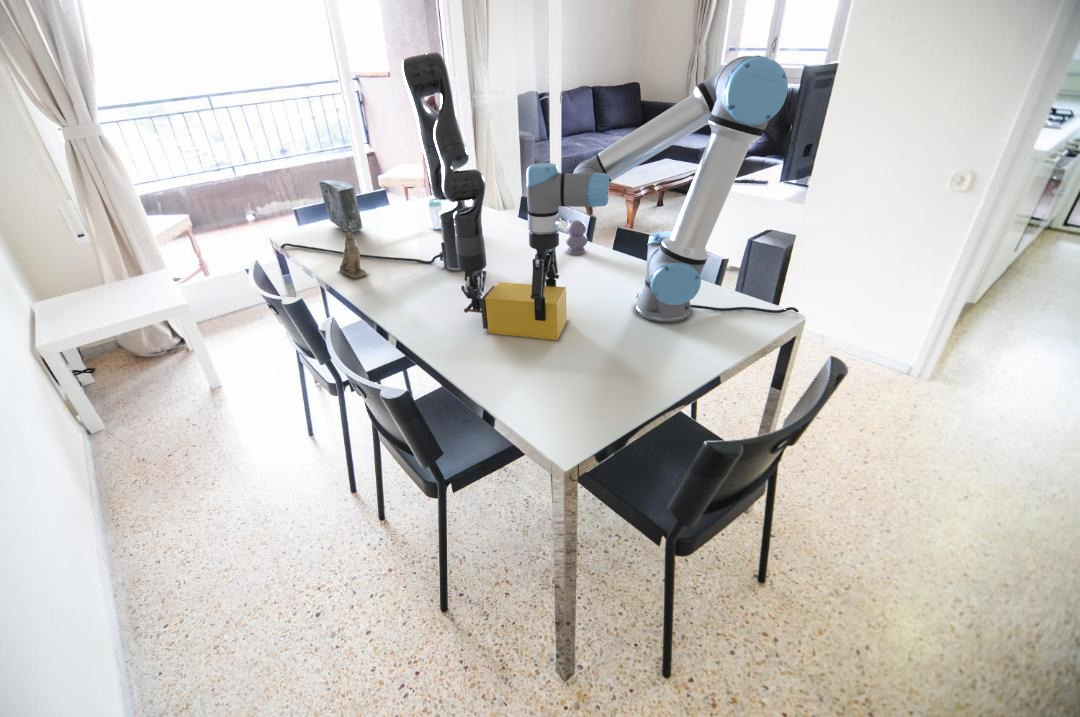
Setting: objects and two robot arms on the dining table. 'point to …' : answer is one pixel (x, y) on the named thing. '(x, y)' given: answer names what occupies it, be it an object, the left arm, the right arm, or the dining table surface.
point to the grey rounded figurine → (576, 237)
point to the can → (435, 212)
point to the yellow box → (525, 311)
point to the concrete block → (341, 204)
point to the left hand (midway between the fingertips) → (477, 309)
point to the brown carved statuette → (351, 258)
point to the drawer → (483, 309)
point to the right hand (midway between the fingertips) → (546, 310)
